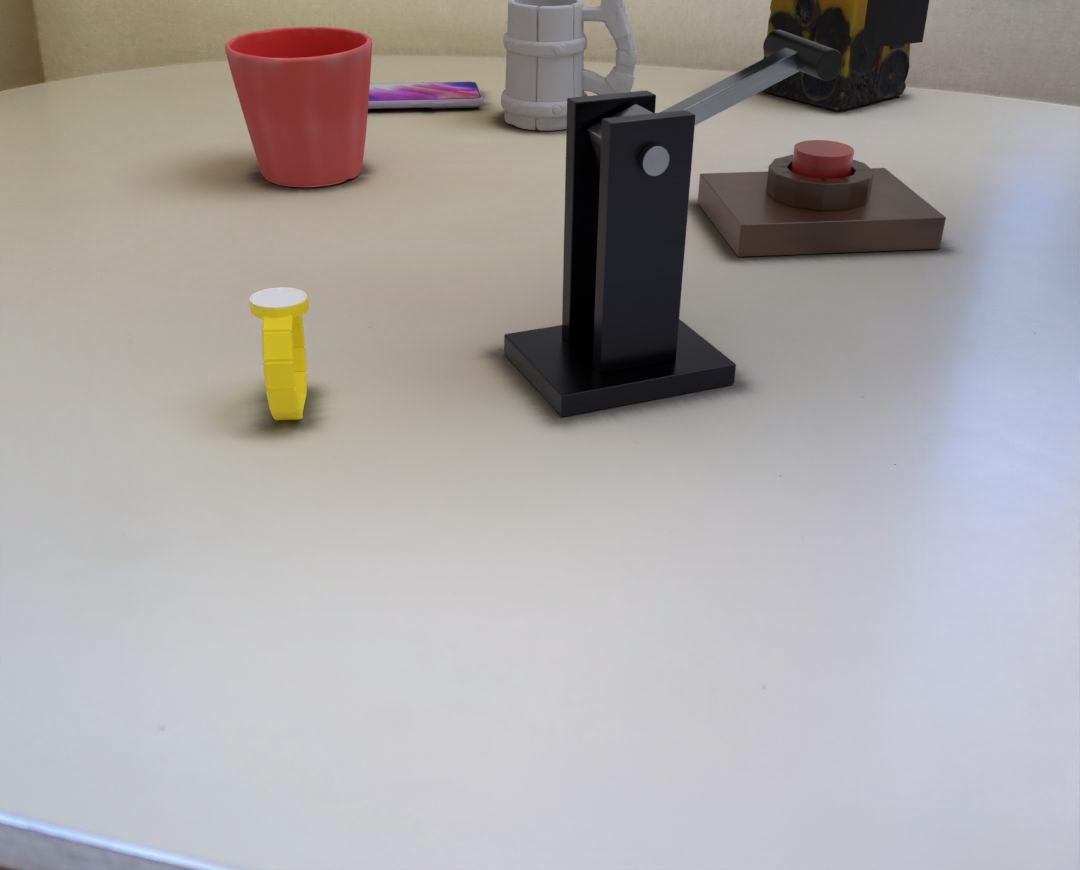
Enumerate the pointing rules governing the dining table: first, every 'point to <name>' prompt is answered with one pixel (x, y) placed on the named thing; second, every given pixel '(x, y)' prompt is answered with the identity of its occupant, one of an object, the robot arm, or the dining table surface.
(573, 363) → the switch bracket
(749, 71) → the switch lever
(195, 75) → the dining table surface
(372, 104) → the smartphone
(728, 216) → the switch block
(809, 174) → the button
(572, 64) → the mug
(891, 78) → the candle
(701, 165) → the dining table surface
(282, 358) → the watch
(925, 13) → the robot arm
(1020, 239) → the dining table surface
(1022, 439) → the dining table surface
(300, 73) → the flower pot
